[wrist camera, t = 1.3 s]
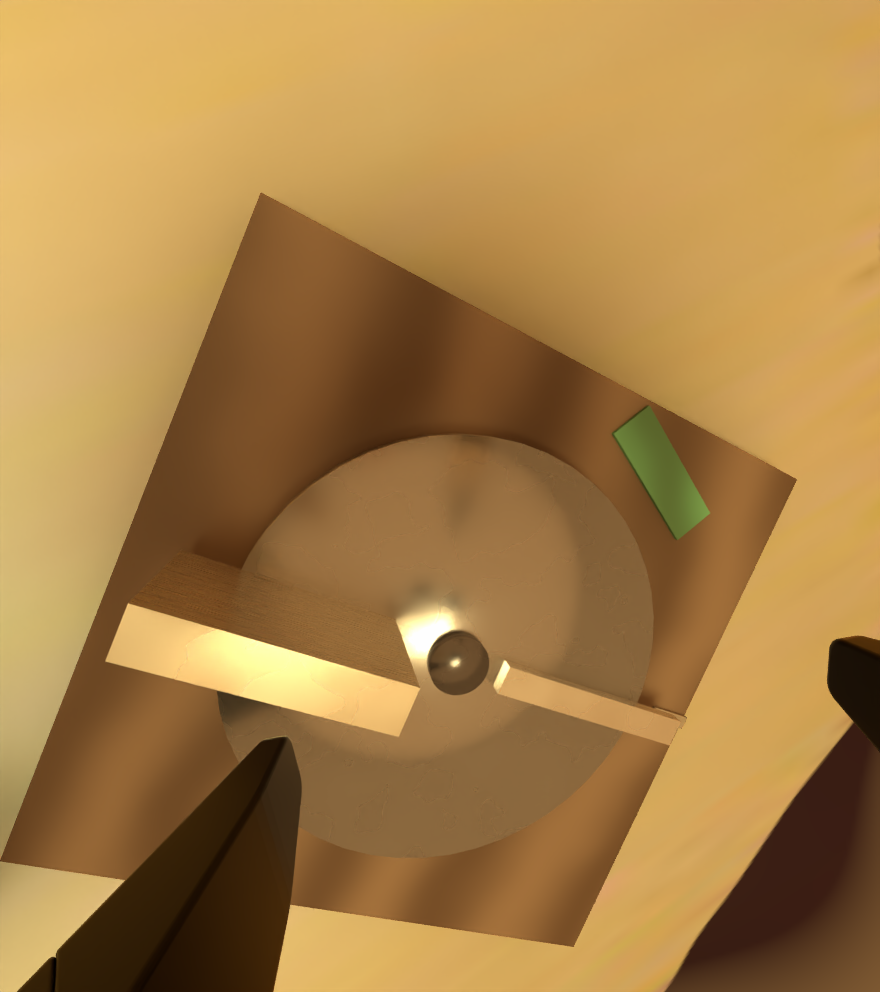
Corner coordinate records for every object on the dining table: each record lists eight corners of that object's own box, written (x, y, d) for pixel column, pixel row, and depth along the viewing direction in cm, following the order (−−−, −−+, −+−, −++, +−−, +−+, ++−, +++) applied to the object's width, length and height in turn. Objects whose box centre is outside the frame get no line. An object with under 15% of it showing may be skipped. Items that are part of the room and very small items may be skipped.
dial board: (22, 829, 20) (-4, 865, 19) (265, 209, 19) (260, 189, 17) (560, 918, 27) (575, 950, 26) (770, 475, 26) (800, 479, 24)
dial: (93, 781, 19) (-7, 945, 13) (274, 329, 18) (251, 290, 12) (575, 875, 25) (652, 1016, 19) (733, 542, 24) (866, 584, 18)
